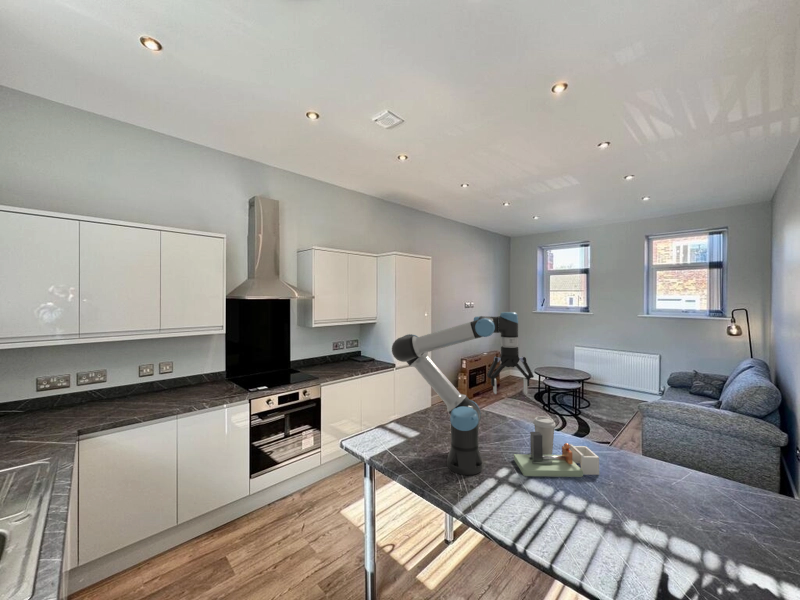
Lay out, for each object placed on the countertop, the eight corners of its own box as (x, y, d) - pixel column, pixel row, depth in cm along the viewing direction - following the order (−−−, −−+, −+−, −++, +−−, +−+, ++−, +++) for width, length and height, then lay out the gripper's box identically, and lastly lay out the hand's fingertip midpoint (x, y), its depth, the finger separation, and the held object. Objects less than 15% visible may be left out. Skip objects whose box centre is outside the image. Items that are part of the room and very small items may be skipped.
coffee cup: (551, 447, 150) (550, 415, 150) (559, 457, 140) (559, 423, 141) (530, 446, 151) (530, 415, 151) (537, 456, 141) (537, 423, 141)
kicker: (534, 463, 129) (534, 436, 129) (529, 456, 135) (529, 430, 135) (573, 464, 128) (573, 436, 128) (566, 457, 134) (566, 431, 134)
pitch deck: (524, 476, 126) (524, 470, 126) (514, 459, 139) (513, 454, 139) (582, 476, 125) (582, 470, 125) (567, 460, 138) (567, 454, 138)
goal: (581, 474, 126) (581, 455, 126) (570, 462, 136) (569, 444, 136) (599, 474, 126) (598, 455, 126) (586, 462, 135) (585, 444, 135)
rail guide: (532, 463, 130) (532, 461, 130) (529, 458, 134) (529, 456, 134) (552, 464, 129) (552, 461, 129) (548, 458, 134) (548, 456, 134)
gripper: (483, 347, 138) (484, 395, 138) (541, 347, 137) (541, 395, 137) (479, 345, 146) (480, 390, 146) (534, 344, 144) (535, 390, 144)
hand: (510, 393), depth 141 cm, fingers open, 13 cm apart
